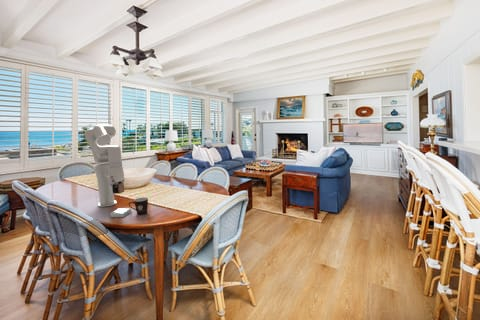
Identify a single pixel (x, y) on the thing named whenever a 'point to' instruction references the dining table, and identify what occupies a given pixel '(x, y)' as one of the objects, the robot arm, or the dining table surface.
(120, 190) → the walnut block
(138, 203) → the coffee mug
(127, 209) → the trivet
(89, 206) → the dining table surface
